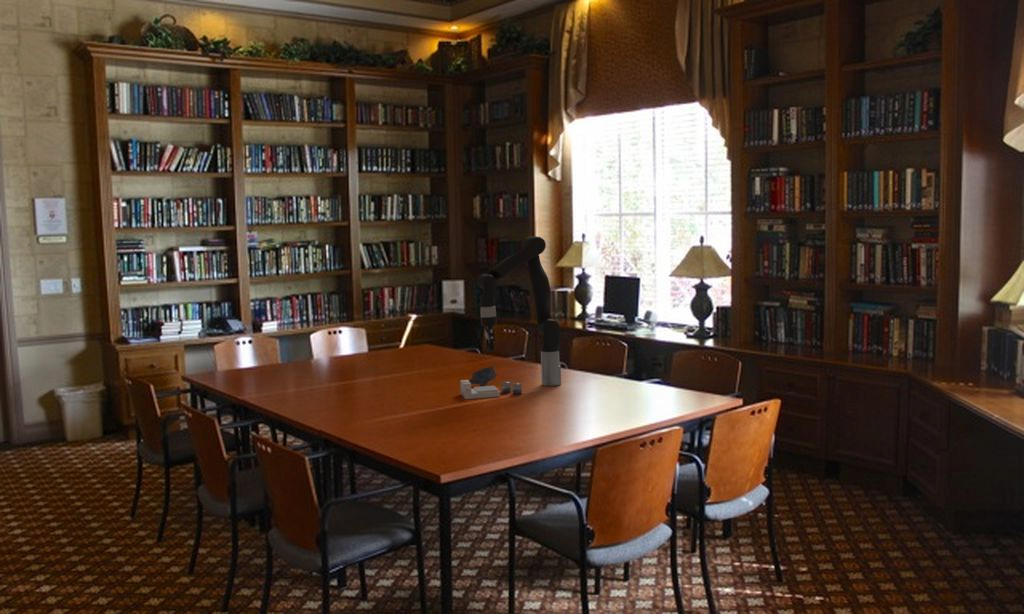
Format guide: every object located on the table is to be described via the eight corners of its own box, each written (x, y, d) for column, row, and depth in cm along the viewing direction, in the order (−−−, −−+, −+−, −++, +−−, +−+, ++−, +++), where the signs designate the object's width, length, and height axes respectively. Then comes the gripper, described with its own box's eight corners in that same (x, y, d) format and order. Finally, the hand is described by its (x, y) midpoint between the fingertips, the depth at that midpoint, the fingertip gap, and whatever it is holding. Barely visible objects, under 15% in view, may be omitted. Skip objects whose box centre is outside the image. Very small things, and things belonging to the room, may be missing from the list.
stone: (473, 388, 453) (472, 368, 452) (468, 386, 458) (467, 367, 457) (497, 385, 459) (497, 365, 458) (492, 383, 464) (492, 364, 463)
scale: (495, 391, 443) (494, 376, 442) (500, 396, 430) (499, 381, 429) (460, 394, 439) (460, 379, 438) (464, 399, 427) (464, 384, 426)
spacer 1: (510, 391, 442) (509, 381, 442) (512, 392, 438) (511, 382, 437) (501, 391, 441) (501, 381, 441) (503, 393, 437) (502, 383, 437)
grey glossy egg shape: (520, 392, 437) (520, 382, 437) (522, 394, 433) (522, 384, 432) (511, 393, 436) (511, 383, 436) (513, 395, 432) (513, 384, 432)
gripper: (498, 316, 430) (500, 350, 432) (493, 313, 444) (495, 346, 446) (483, 317, 429) (484, 351, 431) (478, 314, 443) (480, 347, 445)
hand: (490, 348), depth 438 cm, fingers open, 8 cm apart
